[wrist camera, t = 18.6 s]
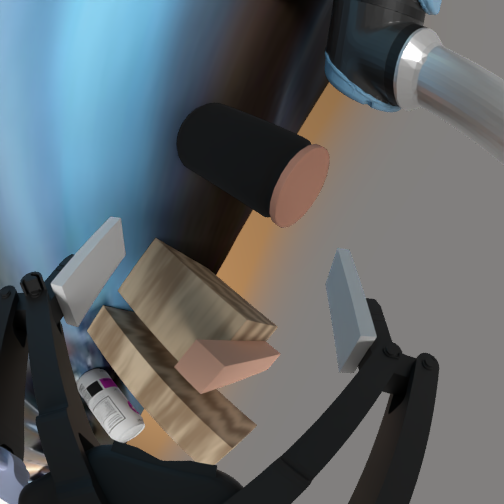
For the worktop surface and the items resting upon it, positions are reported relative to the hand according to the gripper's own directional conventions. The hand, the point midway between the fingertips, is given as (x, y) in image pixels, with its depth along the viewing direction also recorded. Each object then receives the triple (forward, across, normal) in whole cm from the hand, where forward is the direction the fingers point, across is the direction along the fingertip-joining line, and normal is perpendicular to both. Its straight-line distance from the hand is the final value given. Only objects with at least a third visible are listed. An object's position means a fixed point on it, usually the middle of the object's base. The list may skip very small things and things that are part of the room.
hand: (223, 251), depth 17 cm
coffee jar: (+28, -8, +1) cm, 29 cm away
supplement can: (+10, -29, -44) cm, 54 cm away
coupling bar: (+12, +1, -25) cm, 28 cm away
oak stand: (+24, -16, -29) cm, 41 cm away
